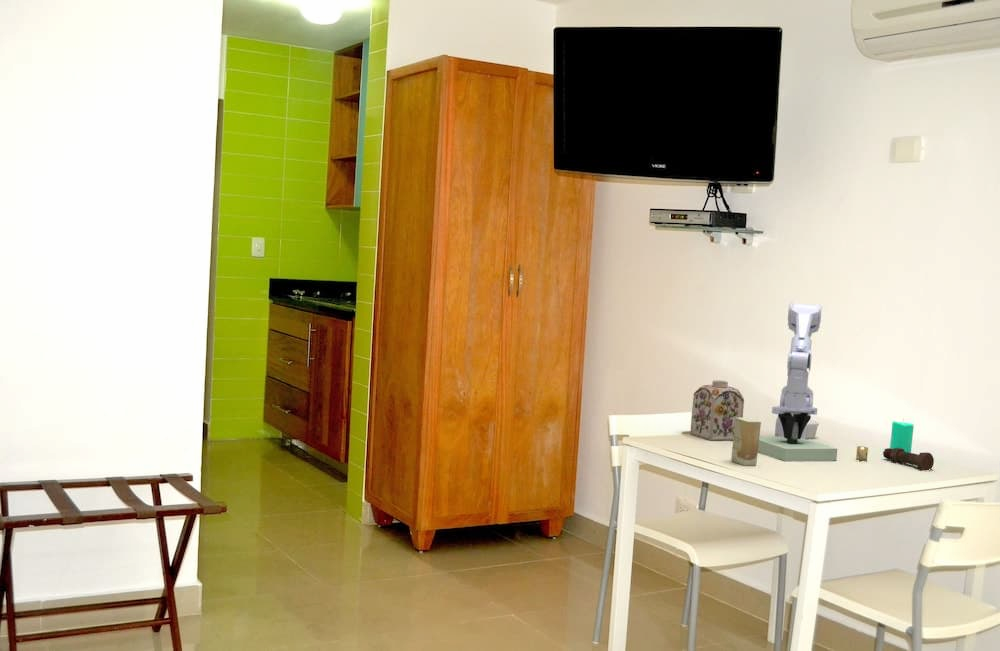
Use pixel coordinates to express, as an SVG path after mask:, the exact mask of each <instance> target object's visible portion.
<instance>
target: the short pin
mask: <svg viewBox="0 0 1000 651" xmlns="http://www.w3.org/2000/svg"><path fill="white" fill-rule="evenodd" d="M868 452H869V447H868V446H863V445H857V446H856V454H855V461H856V460H859V461H858V462H860V461H867V462H868Z"/></svg>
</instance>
